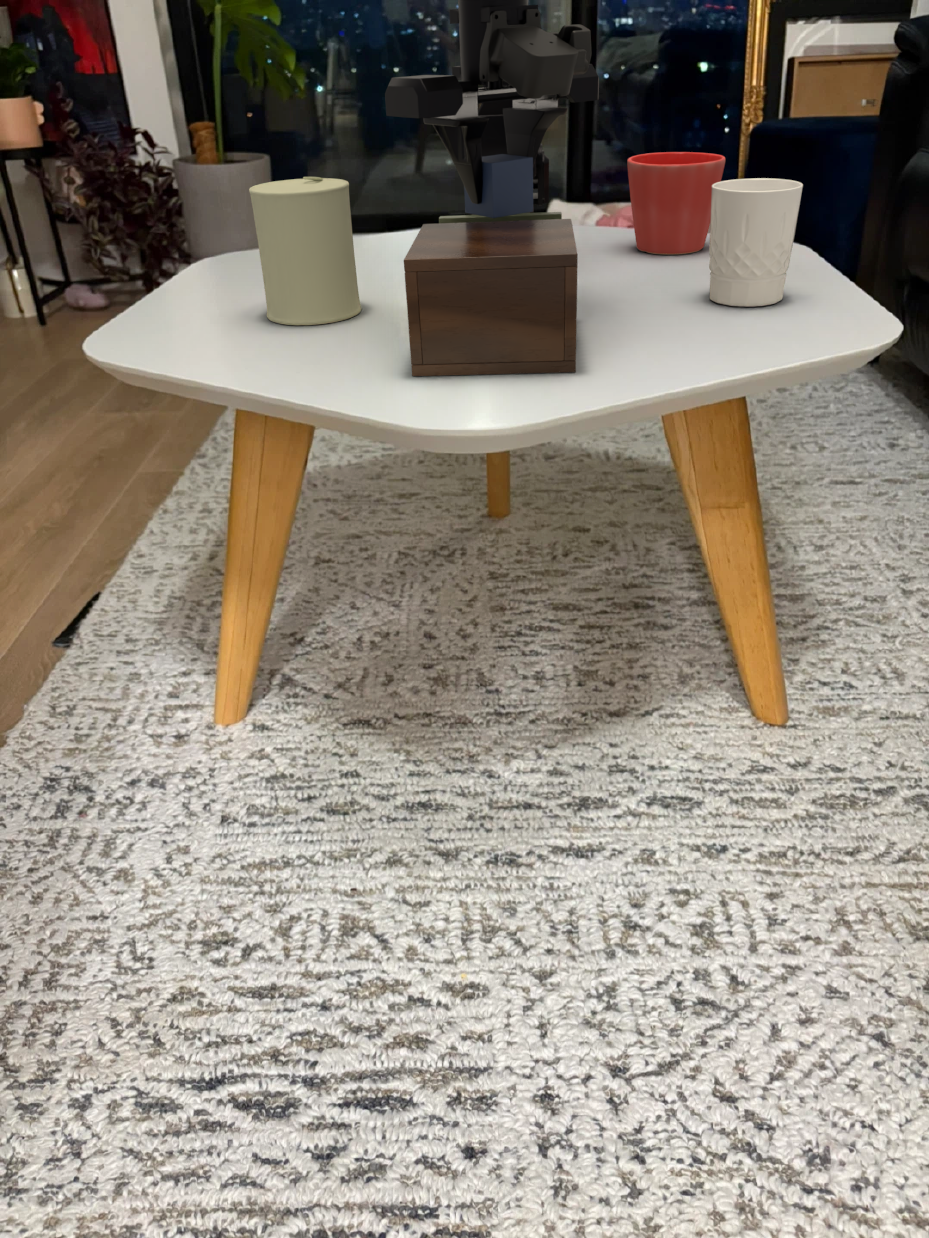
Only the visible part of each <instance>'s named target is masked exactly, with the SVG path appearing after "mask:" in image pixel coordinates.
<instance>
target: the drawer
mask: <svg viewBox="0 0 929 1238" xmlns="http://www.w3.org/2000/svg"><path fill="white" fill-rule="evenodd" d="M562 214H563V213H562V211H545V212H533V213H532V212H527V213H521V214H516V215H510V216H504V217H498V218H490V217H485V216H480V215H475V214H466V215H465V214H464V215H440V216H439V217H438V224H439V223H467V222H494V221H522V220H549V219H563V218H562V217H563V215H562Z"/></svg>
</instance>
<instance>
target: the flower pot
mask: <svg viewBox="0 0 929 1238" xmlns="http://www.w3.org/2000/svg"><path fill="white" fill-rule="evenodd" d="M626 163H627V178H628V187H629V197H630V205H631V215H632V223H633V229H634V237H635V246H636V248H637V250H639V251H641V252H642V253H643V252H646V253H648V254H652V255H653V254H654V255H662V256H663V255H664V256H666V255H667V256H668V255H671V256H674V255H688V254H693V253H697V252H699V251H702V249H704V247H705V244H706V241H707V237H708V234H709V230H710V219H711V192H712V185H713V184H714V183H717V182H721V181H722V178H723V174H724V169H725V165H726V157H725V156H724V155H723V154H717V153H710V152H709V153H708V152H693V151H691V152H690V151H666V152H665V151H664V152H649V153H641V154H636V155H632V156H630V157H628V158H627V162H626Z"/></svg>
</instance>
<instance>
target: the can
mask: <svg viewBox="0 0 929 1238" xmlns="http://www.w3.org/2000/svg"><path fill="white" fill-rule="evenodd" d="M248 192H249V196H250V202H251V206H252V213H253V219H254V225H255V232H256V233H255V234H256V239H257V246H258V252H259V258H260V266H261V272H262V279H263V286H264V295H265V304H266V318H267V319H268V320H269V321H271V322H273V323H276V324H278V325H279V324H280V325H286V326H317V325H325V324H332V323H337V322H340V321H345V320H348V319H351V318H353V317H355V316H358V315H359V314H360V313H361V312H362V304H361V300H360V293H359V286H358V277H357V266H356V257H355V245H354V236H353V235H354V234H353V224H352V212H351V202H350V201H351V199H350V183H349V181H348V180H345V179H342V178H341V179H340V178H328V177H320V176H303V177H302V178H294V179H284V180H283V179H282V180H275V181H269V182H263V183H258V184H256V185H253V186H250V187H249V189H248Z"/></svg>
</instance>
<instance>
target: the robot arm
mask: <svg viewBox="0 0 929 1238" xmlns="http://www.w3.org/2000/svg"><path fill="white" fill-rule="evenodd" d="M448 13H449V24H450V25H454V24H456V25H457V24H458V33H459V34H458V35H459V36H458V38H459V56H460V59H459V60H460V62H459V63H460V65H457V66H451V75H450V74H449V75H448V74H446V75H444V74H420V75H411V76H409V75H408V76H396V77H391V78H390V81H389V83H388V85H387V88H386V90H385V92H384V101H385V113H386V117H396V118H397V117H398V118H410V119H422V120H423V123H424V125H432V127H433V129H434V130H435V132H436V133H437V135H438V137H439V139H440V140H441V143H442V144H443V145H444V147H445V149H446V151H447V152H448V154H449V157H450V158H451V160H452V163H453V165H454V167H455V169H456V171H457V174H458V175H459V178H460V181H461V182H462V184H463V188H464V187H465V189H466V191H467V193H468V195H469V198H470V200H471V202H472V203H474V204H480V203H481V202H482V190H483V175H482V157H484V156H492V155H499V154H507V155H516V156H524V157H532V158H533V190H537V192H533V206H538V207H539V206H540V207H541V206H543V205H544V204H549V202H550V196H549V195H550V158H549V157H548V156H547V155H546V154H545V150H544V149H543V143H542V141H543V139H544V137H545V134H546V133H547V130H548V129H549V128H550V127H551V126H552V125H553V123H554V122H555V121H556V120H557V119H558V118H559V117H561V116H565V115H566V114H567V112H568V109H569V108H568V107H559V99H565V100H569V102H570V103H585V102H593V101H599V97H600V95H599V93H600V91H599V90H600V89H599V88H600V78H599V77H600V76H599V75H598V73H597V71H596V69H595V67H594V65H593V64H592V63H591V59H592V39H591V30H590V29H589V28H588V27H586V26H584V25H582V24H580V23H579V24H564V25H563V26H561V28H560V29H559V31H550V32H548V31H545V30H544V29H542V28H543V27H542V25H541V11H540V10H539V4H529V0H457V8H452V9H451V8H450V9H449V12H448ZM479 86H482V87H479ZM479 104H480V106H479ZM532 213H534V211H533V212H532Z"/></svg>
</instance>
